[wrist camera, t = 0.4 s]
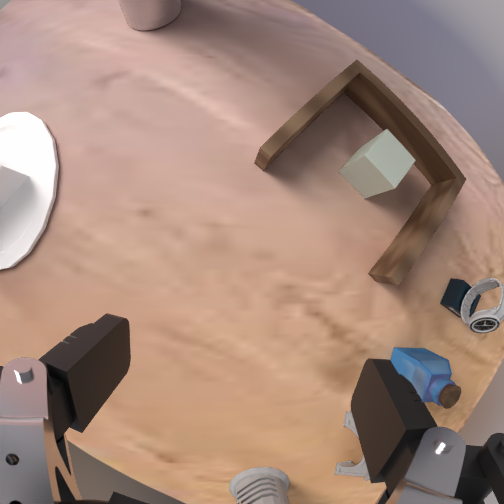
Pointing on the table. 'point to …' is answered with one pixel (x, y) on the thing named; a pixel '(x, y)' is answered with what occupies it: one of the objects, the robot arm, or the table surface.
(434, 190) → the walnut u-shaped frame
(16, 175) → the dish
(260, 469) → the french press
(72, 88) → the table surface
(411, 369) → the perfume bottle
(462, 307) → the watch
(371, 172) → the sage block
